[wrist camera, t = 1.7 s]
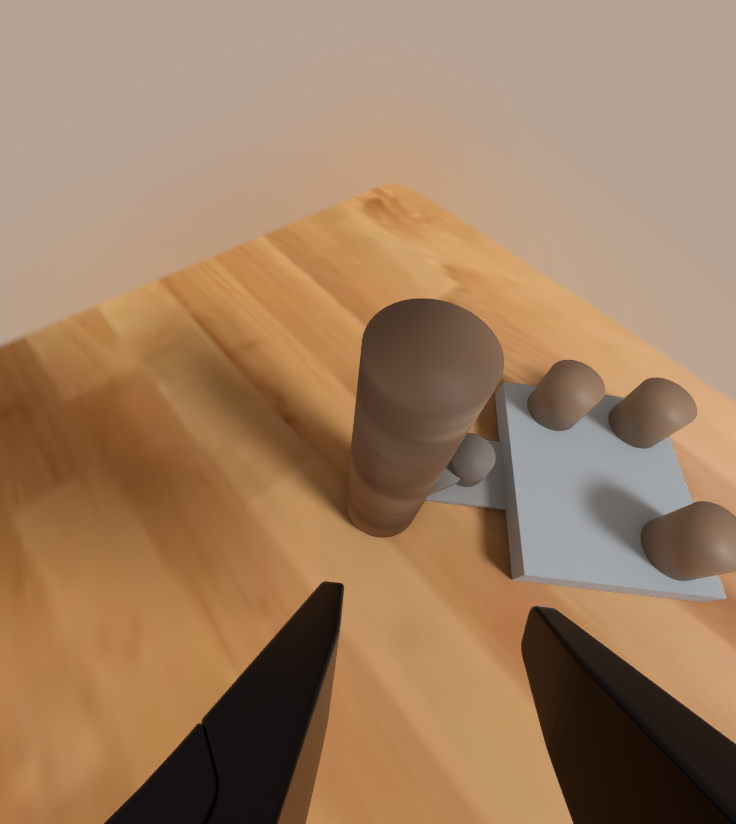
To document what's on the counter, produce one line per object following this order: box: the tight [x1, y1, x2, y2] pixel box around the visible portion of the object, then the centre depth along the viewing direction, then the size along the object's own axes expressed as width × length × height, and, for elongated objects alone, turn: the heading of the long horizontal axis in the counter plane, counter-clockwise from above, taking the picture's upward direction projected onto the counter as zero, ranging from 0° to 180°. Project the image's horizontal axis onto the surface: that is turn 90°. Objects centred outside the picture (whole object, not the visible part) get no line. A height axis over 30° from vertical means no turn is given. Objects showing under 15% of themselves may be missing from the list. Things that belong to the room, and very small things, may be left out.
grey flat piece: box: [425, 360, 736, 602], centre depth 23 cm, size 15×17×5 cm
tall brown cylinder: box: [346, 299, 504, 538], centre depth 17 cm, size 9×4×13 cm, turn 114°
